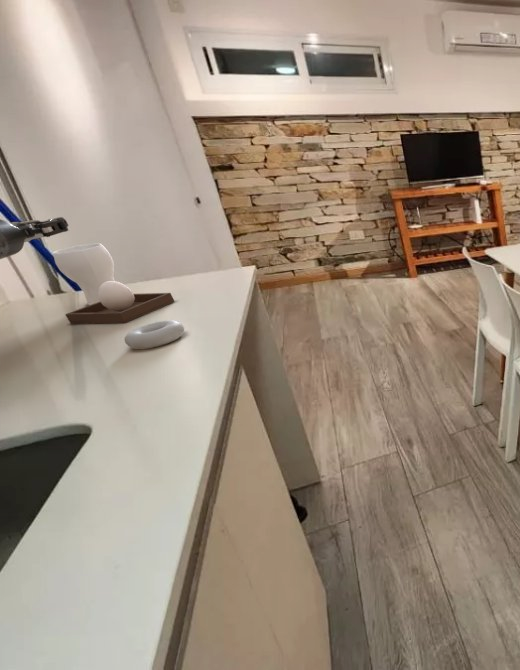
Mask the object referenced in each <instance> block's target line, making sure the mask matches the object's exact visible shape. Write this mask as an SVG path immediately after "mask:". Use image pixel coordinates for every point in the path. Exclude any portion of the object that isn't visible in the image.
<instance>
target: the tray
mask: <svg viewBox="0 0 520 670" xmlns="http://www.w3.org/2000/svg"><path fill="white" fill-rule="evenodd" d="M133 294H134V298H135V299H134V303H133V305H132V306H131V307H130V308H129V309H127V310H124V311H114V310H111V309H108V308H106V307H105V306H103V305H102V303H101V302H97V303H95V304H92V305H87V306H84V307H81V308H79V309H76V310H73V311H71V312H68V313H65V314H64V315H65V317H66V319H67V320H68V322H69V323H70V324H72V325H80V324H81V325H83V324H84V325H85V324H87V325H88V324H126V323H128V322H131V321H133V320H135V319H138V318H141V317H142V316H145V315H147V314H149V313H152V312H154V311H157V310H159V309H161V308H163V307H166V306H168V305H171V304H173V303H176V302H175V301H176V300H175V299H174V297H173V295H172V293H171V292H149V293H146V292H145V293H144V292H143V293H133Z"/></svg>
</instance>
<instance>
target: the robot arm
mask: <svg viewBox="0 0 520 670" xmlns="http://www.w3.org/2000/svg"><path fill="white" fill-rule="evenodd" d="M30 225H33V227H34V228H33V227H32V226H30ZM68 227H69V223H68V221H67V220H66V218H64V217H63V216H59V217H54V218H48V219H47V220H38V219H31V220H27V221H21V222H20V221H12V222H8V221H6V220H3V219H1V218H0V260H2V259H5V258H8V257H11V256H14V255H16V254H18V253H20V252H21V251H22V249H23V248H24V245H25V243H28V242H31V241H32V240H36V239H39V238H49V237H51V236H56V235H58V234H62V233H66V232H68V231H69V228H68Z"/></svg>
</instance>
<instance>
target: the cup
mask: <svg viewBox="0 0 520 670" xmlns="http://www.w3.org/2000/svg"><path fill="white" fill-rule="evenodd" d="M52 255H53V259H54V264H55V265H56V267H57V268H58V270H59V271H60V272H61V273H62V274H63V275H64V277H67V278H68V279H69V280H70V281H72V282H74V283H75V284H77V285H78V287H79V288H80V289H81V290H82V292H83V294H84V297H85V300H86V303H87V306H89V305H92V304H95V303H97V302H100V300H99V297H98V290H99V288H100V286H101V285H102V284H103V283H105V282H107V281H116V280H115V277H114V272H115V264H114V263H115V262H114V259H113V257H112V255H111V253H110V252H109V250H107V248H106V247H105V246H104V245H103V244H102V243H100V242H99V243H98V242H97V243H87V244H80V245H73V246H69V247H65V248H61V249H57V250H55V251H53V252H52Z"/></svg>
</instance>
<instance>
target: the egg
mask: <svg viewBox="0 0 520 670" xmlns="http://www.w3.org/2000/svg"><path fill="white" fill-rule="evenodd" d="M134 294H135V293H133V291H132V290H131V289H130V287H128V286H127V285H125V284H124V283H122V282H119V281H117V280H115V281H107V282H105V283H103V284H102V285H101V286H100V288H99V290H98V297H99V300H100V302H101V303H102V305H103V306H105V307H106V308H108V309H111V310H114V311H124V310H127V309H129V308H130V307H131V306H132V305H133V303H134V299H135V298H134Z"/></svg>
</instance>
